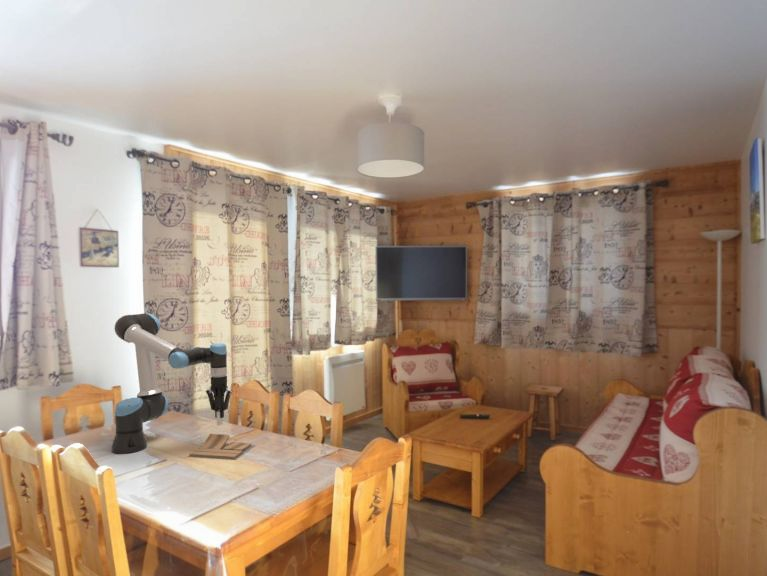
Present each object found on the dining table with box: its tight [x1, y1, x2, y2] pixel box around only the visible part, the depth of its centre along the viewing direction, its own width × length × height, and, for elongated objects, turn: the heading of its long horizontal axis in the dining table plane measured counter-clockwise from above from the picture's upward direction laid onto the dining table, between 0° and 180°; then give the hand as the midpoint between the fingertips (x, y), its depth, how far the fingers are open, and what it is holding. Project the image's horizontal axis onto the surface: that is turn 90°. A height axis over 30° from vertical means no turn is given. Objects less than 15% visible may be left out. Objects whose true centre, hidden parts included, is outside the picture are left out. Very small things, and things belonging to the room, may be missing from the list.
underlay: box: [186, 442, 257, 461], centre depth 227 cm, size 24×20×2 cm
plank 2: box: [222, 441, 252, 451], centre depth 230 cm, size 10×9×1 cm
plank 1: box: [201, 433, 230, 449], centre depth 231 cm, size 10×9×1 cm
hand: (219, 424), depth 234 cm, fingers closed
